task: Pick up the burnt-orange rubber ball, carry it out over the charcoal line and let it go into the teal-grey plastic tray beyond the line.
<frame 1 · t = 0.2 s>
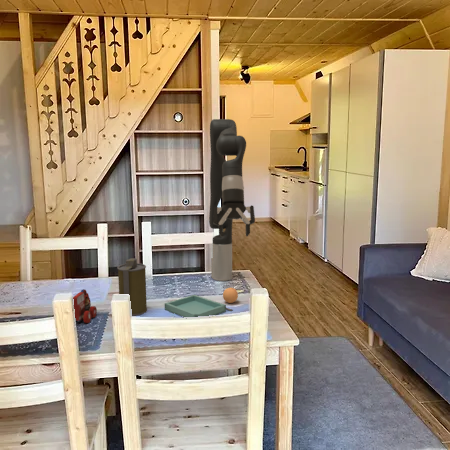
hand: (234, 236, 150), 31 cm above the table, tool tilted 20°, fingers open, 8 cm apart
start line: (215, 305, 172), on the table
toy fire truck: (83, 319, 158), on the table
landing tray: (195, 310, 166), on the table
ball: (230, 295, 175), point 3 cm above the table
canister: (133, 312, 166), on the table
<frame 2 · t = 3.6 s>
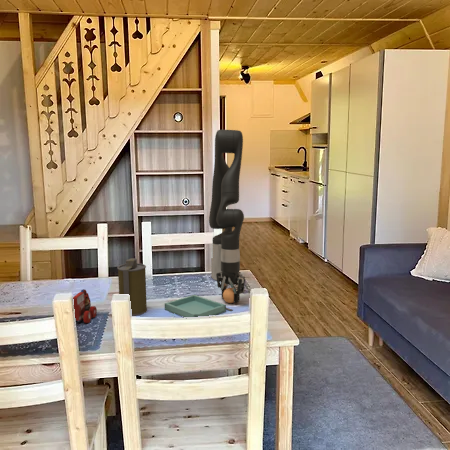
hand: (230, 300, 175), 1 cm above the table, tool pointing down, fingers closed on ball, 6 cm apart
ball: (230, 295, 175), point 3 cm above the table, touching gripper
everything else where it was.
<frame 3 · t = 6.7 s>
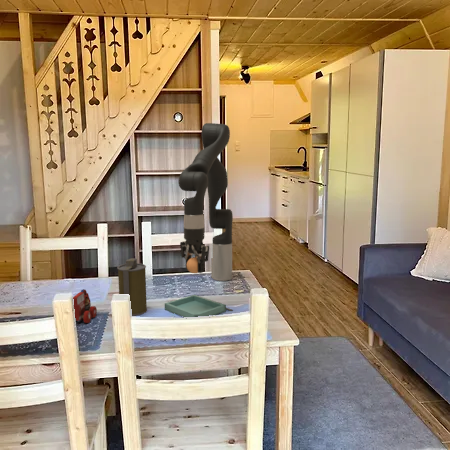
hand: (194, 270, 164), 15 cm above the table, tool pointing down, fingers closed on ball, 6 cm apart
ball: (194, 265, 164), point 18 cm above the table, touching gripper
everything else where it was.
when the fingers open (2 cm above the table, at t = 10.0 s): ball stays where it is, resting on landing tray.
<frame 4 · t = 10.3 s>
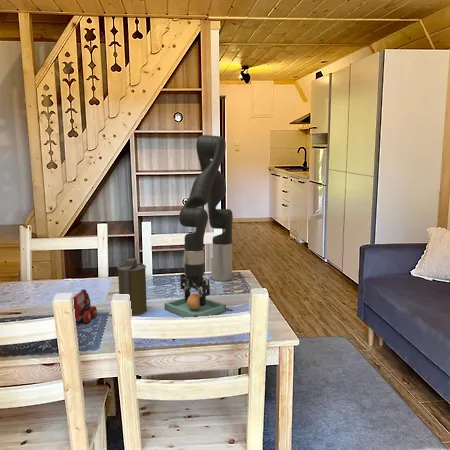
hand: (195, 303, 166), 3 cm above the table, tool pointing down, fingers open, 8 cm apart
ball: (195, 301, 166), point 3 cm above the table, touching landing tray
everything else where it was.
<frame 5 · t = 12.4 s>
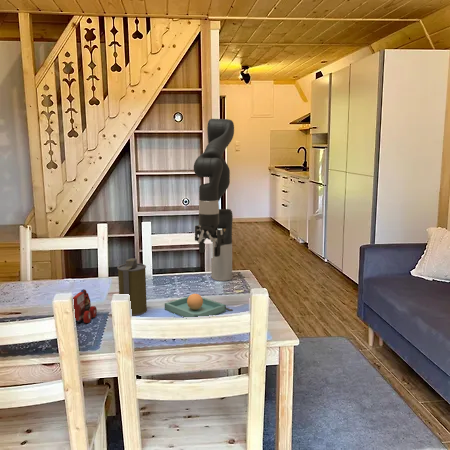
hand: (209, 254, 166), 21 cm above the table, tool pointing down, fingers open, 8 cm apart
nothing on the table moved.
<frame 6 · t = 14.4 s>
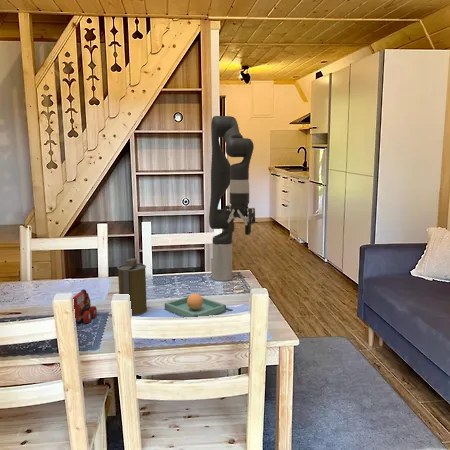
hand: (239, 233, 170), 28 cm above the table, tool pointing down, fingers open, 8 cm apart
nothing on the table moved.
at the end: ball inside the target area (0.0 cm from its centre), point 3.5 cm above the table; the gripper is holding nothing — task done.
